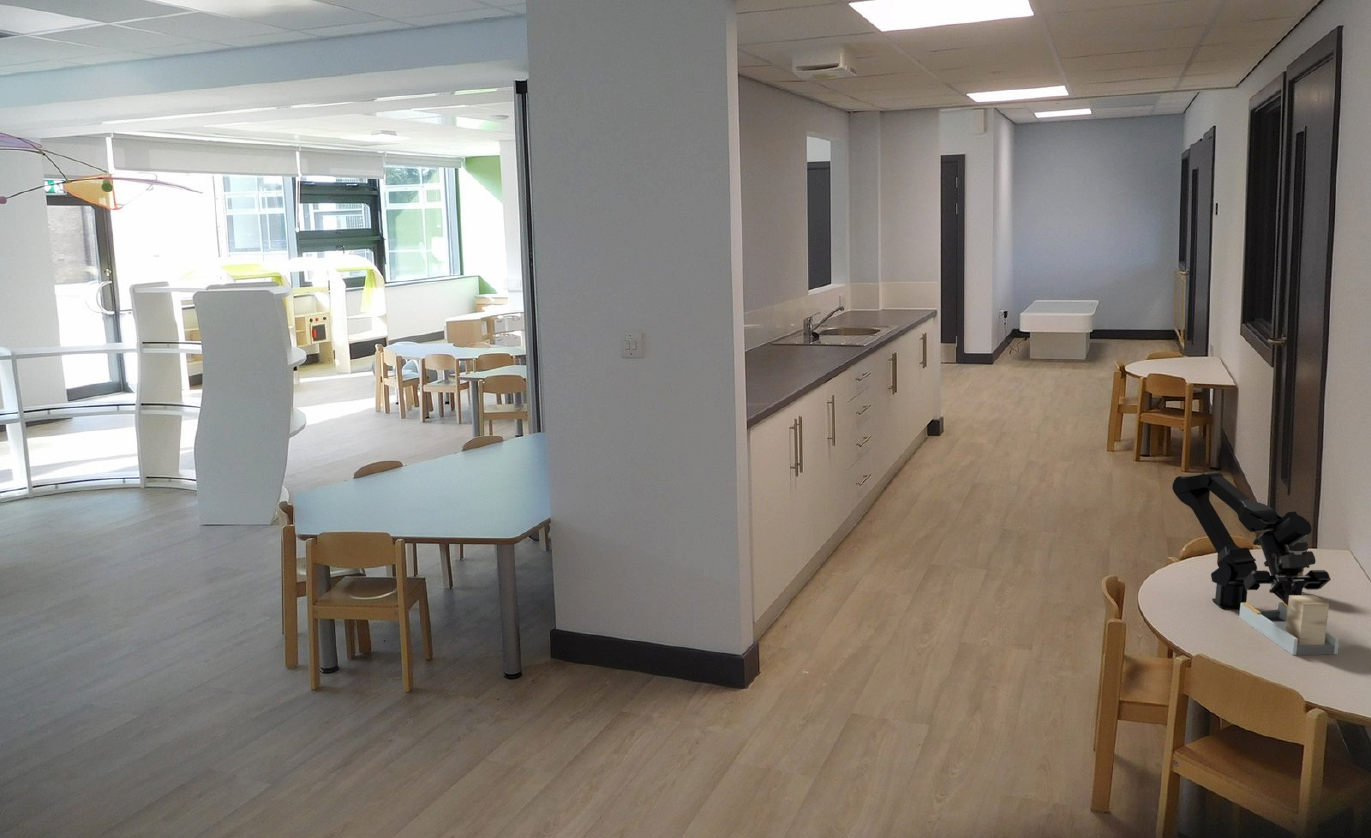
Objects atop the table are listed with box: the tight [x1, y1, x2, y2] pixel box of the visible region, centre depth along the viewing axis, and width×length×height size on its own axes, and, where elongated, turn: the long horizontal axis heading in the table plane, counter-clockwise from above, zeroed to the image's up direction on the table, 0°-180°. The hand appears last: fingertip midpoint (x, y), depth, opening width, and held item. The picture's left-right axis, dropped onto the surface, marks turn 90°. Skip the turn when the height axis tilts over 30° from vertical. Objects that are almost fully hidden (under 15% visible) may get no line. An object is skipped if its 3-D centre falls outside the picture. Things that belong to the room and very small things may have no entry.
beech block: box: [1285, 594, 1330, 645], centre depth 258 cm, size 6×6×10 cm
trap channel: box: [1238, 601, 1340, 656], centre depth 267 cm, size 24×11×4 cm, turn 1°
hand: (1297, 612), depth 262 cm, fingers closed
